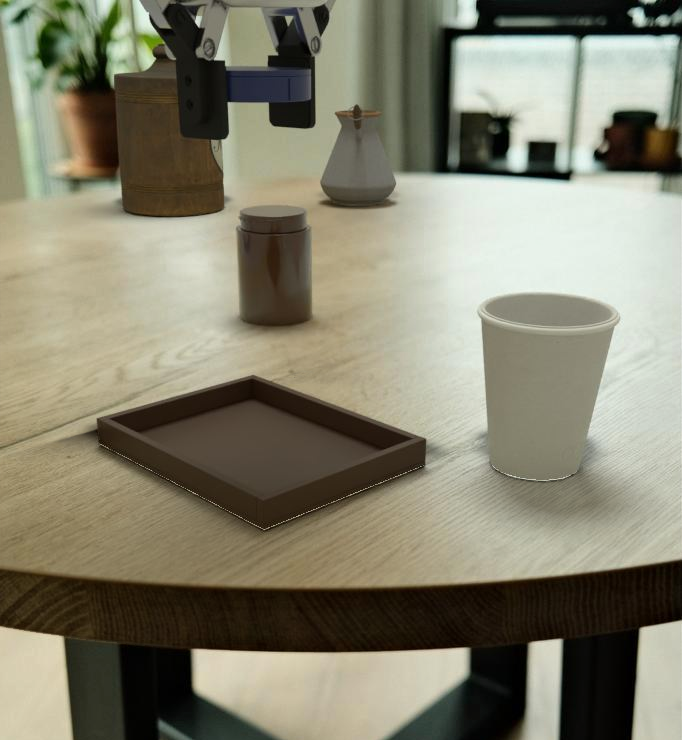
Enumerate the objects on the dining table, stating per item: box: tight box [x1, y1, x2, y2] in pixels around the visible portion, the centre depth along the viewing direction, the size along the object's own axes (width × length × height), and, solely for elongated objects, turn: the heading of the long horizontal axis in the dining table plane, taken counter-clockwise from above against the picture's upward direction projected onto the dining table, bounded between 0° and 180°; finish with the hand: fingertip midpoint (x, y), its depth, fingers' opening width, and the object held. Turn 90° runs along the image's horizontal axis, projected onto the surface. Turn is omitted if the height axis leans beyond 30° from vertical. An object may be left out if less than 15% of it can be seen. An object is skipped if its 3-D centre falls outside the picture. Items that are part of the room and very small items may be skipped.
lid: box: [225, 65, 311, 104], centre depth 58 cm, size 7×7×2 cm
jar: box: [235, 204, 313, 327], centre depth 90 cm, size 7×7×10 cm
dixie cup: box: [476, 291, 621, 480], centre depth 63 cm, size 8×8×10 cm
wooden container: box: [113, 43, 225, 217], centre depth 145 cm, size 15×15×22 cm
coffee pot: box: [319, 103, 397, 207], centre depth 147 cm, size 21×12×15 cm, turn 178°
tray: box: [96, 374, 427, 529], centre depth 65 cm, size 17×13×2 cm
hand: (250, 130), depth 59 cm, fingers closed on lid, 7 cm apart
